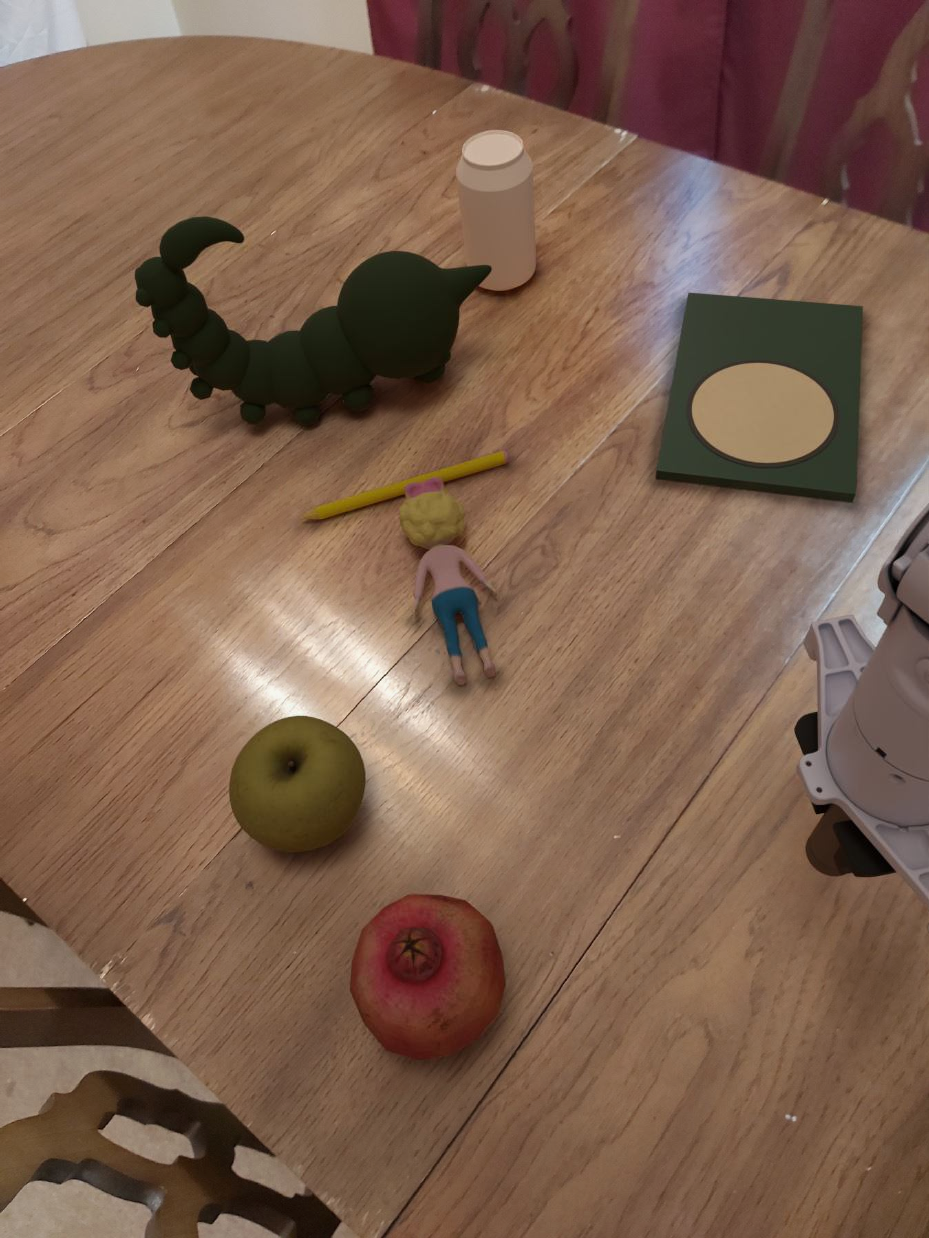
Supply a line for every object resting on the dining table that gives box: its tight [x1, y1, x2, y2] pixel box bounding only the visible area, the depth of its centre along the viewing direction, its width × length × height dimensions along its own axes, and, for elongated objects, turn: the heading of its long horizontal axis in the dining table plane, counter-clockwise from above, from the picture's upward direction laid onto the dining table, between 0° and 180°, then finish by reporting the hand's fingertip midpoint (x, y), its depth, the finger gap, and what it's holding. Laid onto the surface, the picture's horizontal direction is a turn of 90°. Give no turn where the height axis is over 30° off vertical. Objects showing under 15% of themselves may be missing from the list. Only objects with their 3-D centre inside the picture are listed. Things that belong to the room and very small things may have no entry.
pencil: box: [298, 449, 510, 520], centre depth 71 cm, size 16×1×1 cm, turn 107°
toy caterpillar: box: [134, 215, 492, 427], centre depth 70 cm, size 9×19×25 cm
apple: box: [228, 715, 367, 853], centre depth 55 cm, size 8×8×7 cm
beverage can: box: [455, 129, 537, 292], centre depth 79 cm, size 6×6×12 cm
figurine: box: [398, 477, 498, 686], centre depth 64 cm, size 6×4×15 cm
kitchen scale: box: [655, 292, 864, 503], centre depth 73 cm, size 20×14×1 cm
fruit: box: [349, 893, 507, 1062], centre depth 47 cm, size 8×8×10 cm
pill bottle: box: [804, 803, 851, 878], centre depth 45 cm, size 3×3×10 cm
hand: (844, 833), depth 47 cm, fingers closed on pill bottle, 2 cm apart
